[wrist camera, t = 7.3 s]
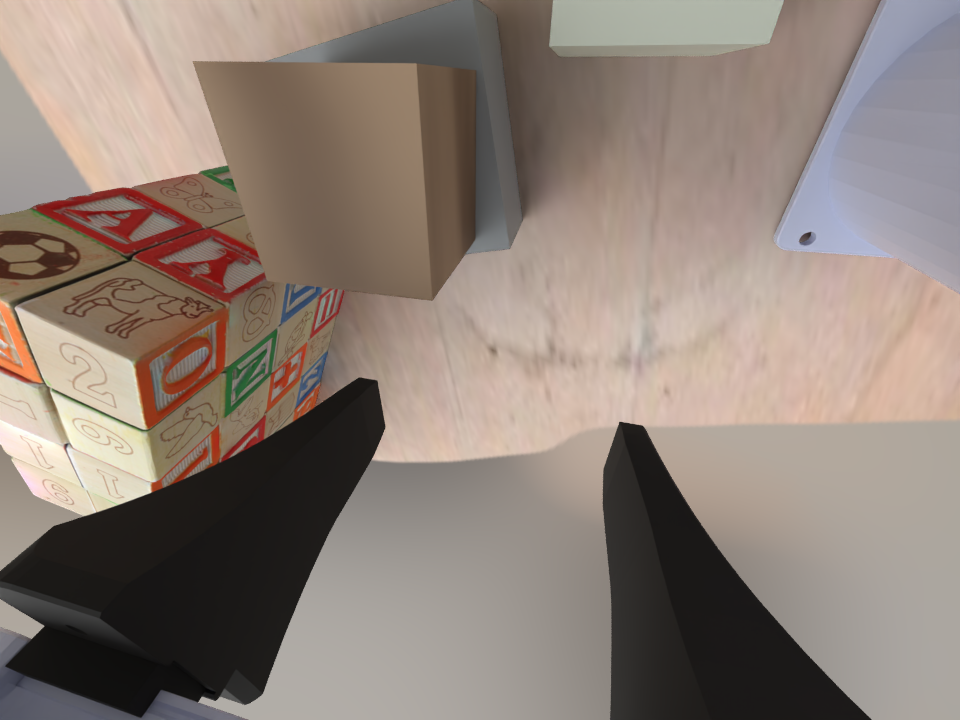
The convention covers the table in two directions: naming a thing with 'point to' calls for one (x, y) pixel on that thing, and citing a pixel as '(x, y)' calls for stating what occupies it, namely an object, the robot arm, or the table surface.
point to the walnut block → (351, 169)
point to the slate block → (476, 46)
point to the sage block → (660, 27)
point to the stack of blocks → (146, 340)
